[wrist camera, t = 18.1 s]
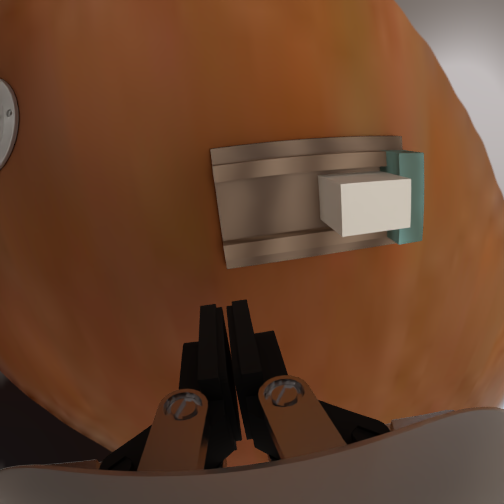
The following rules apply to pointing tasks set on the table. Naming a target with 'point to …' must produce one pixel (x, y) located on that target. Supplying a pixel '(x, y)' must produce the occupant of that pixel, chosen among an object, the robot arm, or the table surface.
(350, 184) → the cream block
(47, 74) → the table surface
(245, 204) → the channel board
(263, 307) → the table surface
